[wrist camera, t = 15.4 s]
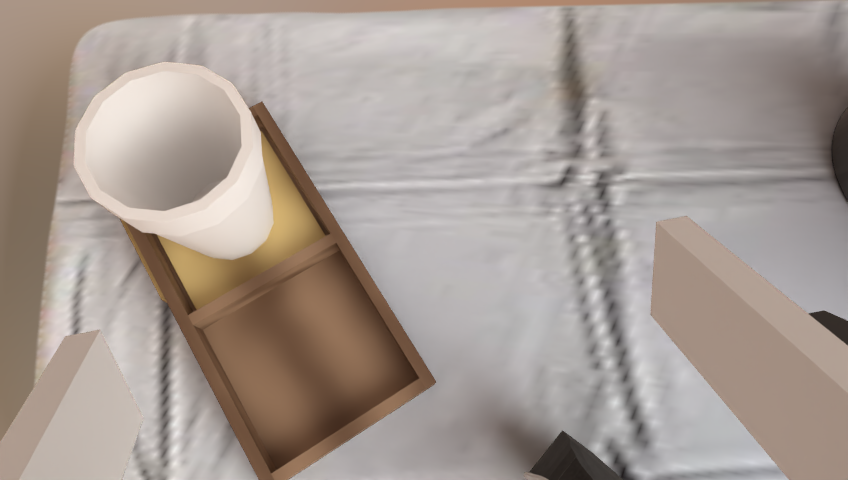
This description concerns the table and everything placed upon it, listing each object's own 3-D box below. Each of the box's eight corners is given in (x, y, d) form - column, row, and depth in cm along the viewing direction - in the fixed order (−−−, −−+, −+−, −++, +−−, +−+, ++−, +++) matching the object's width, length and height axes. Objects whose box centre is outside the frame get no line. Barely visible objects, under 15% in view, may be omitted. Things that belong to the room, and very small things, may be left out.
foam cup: (139, 237, 44) (35, 163, 31) (216, 139, 46) (148, 34, 34) (246, 304, 43) (181, 254, 30) (319, 200, 45) (287, 115, 33)
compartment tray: (269, 119, 48) (262, 101, 45) (434, 384, 42) (436, 381, 40) (118, 198, 46) (100, 184, 43) (270, 490, 40) (261, 495, 37)
